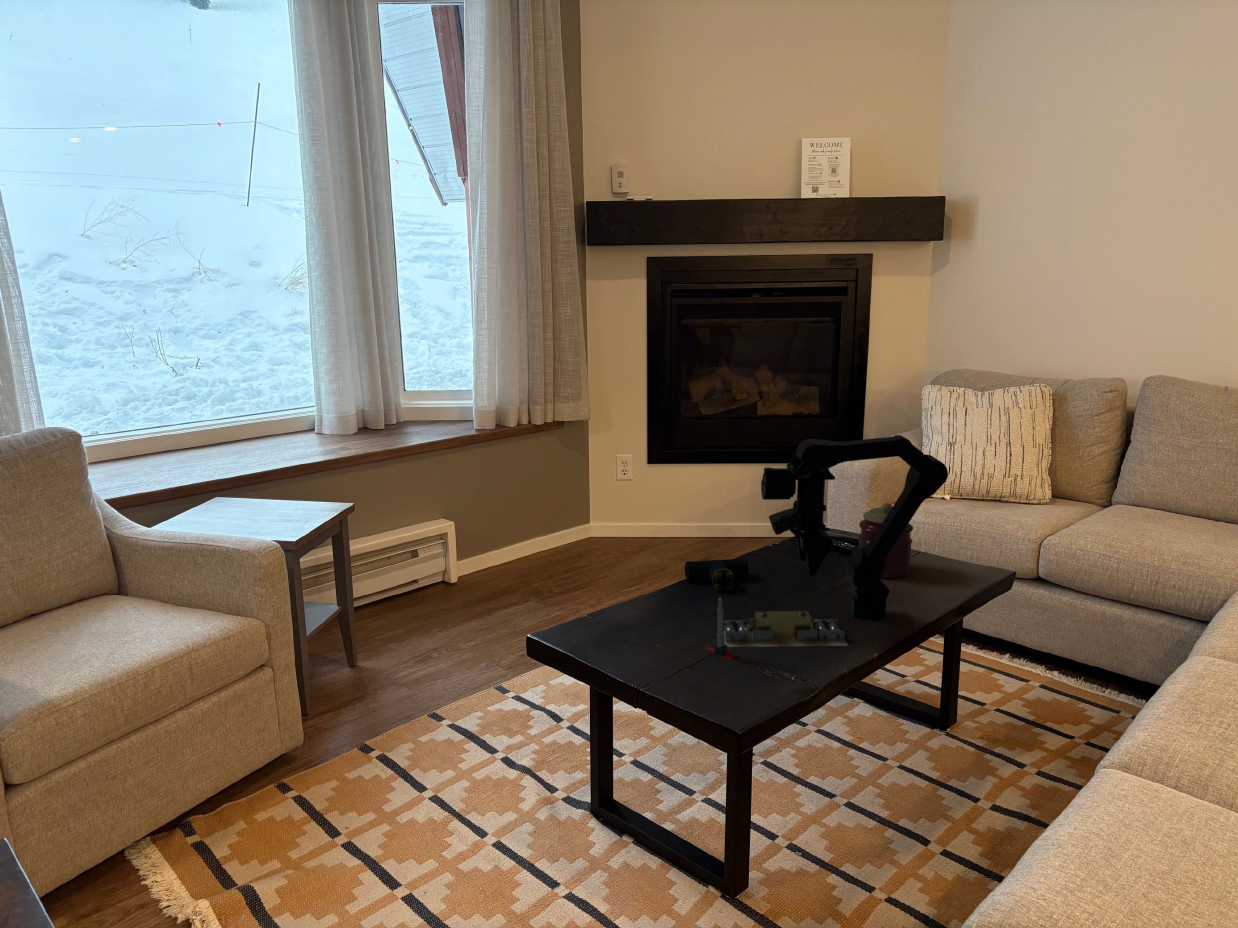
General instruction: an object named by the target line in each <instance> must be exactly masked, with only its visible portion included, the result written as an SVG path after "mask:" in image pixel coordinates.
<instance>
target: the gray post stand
mask: <svg viewBox="0 0 1238 928" xmlns="http://www.w3.org/2000/svg"><path fill="white" fill-rule="evenodd" d="M717 600H718V601H717V603H718V604H717V610H716V611H717V616H716V617H717V633H716V634H717V635H716V644H715V645H714V647H710V646H706V647H705V651H706V652H709V653H712V654H714V653H715V654H718V655H721V656H722V657H723V658H725V659H728V660H732V659H735V658H736V657H737V656H738V655H737V654H735V653H732V652H728V647H727V645H725V643H724V620H725V619H724V607H723V597H718V598H717Z"/></svg>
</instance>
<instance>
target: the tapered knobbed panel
mask: <svg viewBox="0 0 1238 928" xmlns="http://www.w3.org/2000/svg"><path fill="white" fill-rule="evenodd" d="M754 618H755V630H773V638H797V629H811V624H812V616H811V614H809V612H808V610H788V611H787V610H785V611H784V610H782V611H779V610H778V611H773V610H772V611H754Z"/></svg>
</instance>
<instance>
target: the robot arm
mask: <svg viewBox="0 0 1238 928" xmlns="http://www.w3.org/2000/svg"><path fill="white" fill-rule="evenodd" d="M912 443H913V442H911V441H910V440H909V439H908V438H906V437H905V436H903V435H900V434H895V435H893V436H885V437H877V438H868V439H867V438H864V439H855V440H847V441H846V440H845V441H844V440H843V441H835V440H828V439H821V438H820V439H818V438H807V439H804V440H802V441H801V442H800V443H799V445H798V446H797V449H796V452H795V454H794V455H793V457H792V458H791V459H790V461H789V462H788V463H787V464H786V467H785V468H782V467H780V468H779V467H778V468H777V467H776V468H773V467H764V468H763V474H762V476H761V477H762V478H761V481H760V489H761V490H760V493H761V497H762V500H763V501H764V500H765V501H766V500H769V501H770V500H771V501H772V500H775V501H777V500H778V501H779V500H784V501H785V500H788V501H789V500H791V498H793V497H794V496H795V495H796V500H794V502H792V503H793V504H792V508H788V509H784V510H781V511H778V512H776V513H773V514H771V515H769V516H768V520H769V522H770V524H771V528H772V530H773V532H774V534H775V535H777V536H778V535H781V534H783V533H784V532H787V531H790V532H791V533H792V534H793V535H794V537H795V539H796V544H797V550H798V555H799V559H800V561H801V562H806V561H807V568H808V575H809V576H811V577H814V576H815V575H816V574H817V572H818V570H819V569H820V568H821V565H822V563H823V562H824V560H825V558H826V557H827V555H828V554H829V552H831V551H832V550H834V540H833V538H832V537H831V536H830V535H829V533H827V531H823V530H826V524H825V523H824V513H825V512H827V506H826V505H825V491H826V490H825V487H826V481H829V480H830V481H834V480H835V479H836V476H835V475H834V474H833V473H832V472H831V471H830V470H829V469H830V468H833V467H834V466H838V465H839V464H842V463H846V462H855V461H864V460H874V459H877V460H878V459H884V458H886V459H887V458H895V457H896V458H897V457H898V458H900V459H901V460H902V461H903V462H904V463H906V464H907V465H908V466H909V469H908V471H907V473H906V476H905V477H906V478H905V480H904V481H905V483H904V487H903V489H902V491H901V493H900V494H899V496H898V498H897V499H896V501H895V502H894V504H893V505H892V508H891V510H890V512H889V513H888V515H887V516H886V518H885V519H884V521H883V522H882V524H881V525H880V527H879V529H878V530H877V532H876V533H875V535H874V536H873V538H872V539H871V541H870V542H869V544H868V545H866V546H865V547H863V548H862V549H860V548H859V546H857V545H855V547H854V548H853V550H852V552H851V554H850V555H849V557H848V558H846V559H845V562H846V565H845V572H846V576H847V577H848V579H849V580H850V581H851V582H852V585H854V587H855V588H857V589H854V592H853V596H851V601H850V614H851V616H852V617H853V618H857V619H863V620H869V621H875V620H880V619H883V618H886V608H887V599H888V596H889V595H890V593H891V592H890V589H889V588H888V586H886V584H885V583H884V582H883V580H882V578H881V577H882V574H883V572H884V568H885V563H886V558H887V556H888V554H889V552H890V551H891V549H892V548H893V546H894V545H895V543H896V542H897V540H898V539H899V537H900V536H901V534H902V533H903V531H904V530H905V528H906V526H907V525H908V523H909V524H910V522H911V520H912V519H913V517H914V516H915V514H916V513H917V511H918V510H919V508H920V506H921V505H922V504H923V502H924V501H925V500H927V499H929V498H930V497H931V496H933V495H935V494H936V493H937V492H938V490H939V489H940V488H941V487H942V486H943V485H944V484H945V483H946V482H947V480H948V478H949V471H948V468H947V466H946V464H944V463H943V462H942V461H941V460H939V459H938V458H936V457H935V456H933V455H930V454H925V453H924V452H922V451H921V450H920V449H918V448H917V447H916V446H915V445H914V444H912ZM820 530H822V531H820Z"/></svg>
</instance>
